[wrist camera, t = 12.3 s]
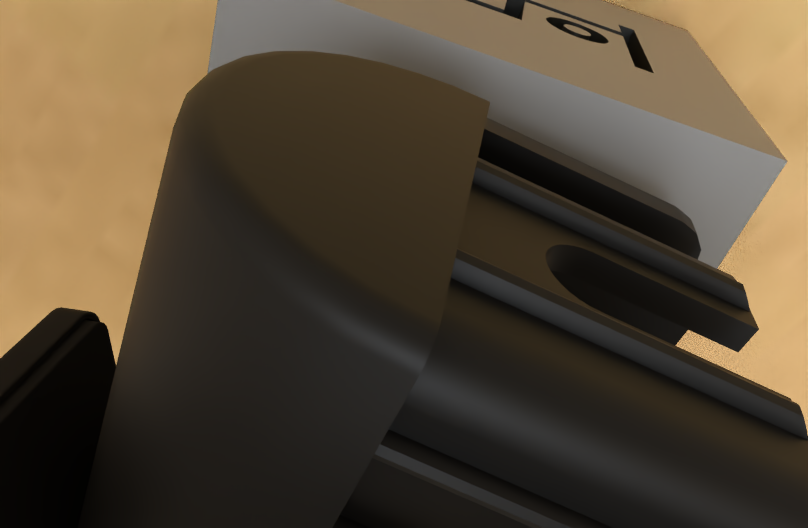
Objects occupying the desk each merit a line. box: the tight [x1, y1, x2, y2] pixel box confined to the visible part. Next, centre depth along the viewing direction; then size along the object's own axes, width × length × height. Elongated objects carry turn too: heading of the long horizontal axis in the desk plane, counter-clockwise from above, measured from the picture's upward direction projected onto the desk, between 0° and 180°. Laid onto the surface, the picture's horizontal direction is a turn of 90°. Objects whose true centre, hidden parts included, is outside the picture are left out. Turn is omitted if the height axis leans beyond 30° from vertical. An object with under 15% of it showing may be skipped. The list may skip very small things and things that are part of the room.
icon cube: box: [208, 0, 787, 269], centre depth 19 cm, size 10×10×10 cm
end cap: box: [78, 51, 808, 528], centre depth 10 cm, size 10×7×7 cm
